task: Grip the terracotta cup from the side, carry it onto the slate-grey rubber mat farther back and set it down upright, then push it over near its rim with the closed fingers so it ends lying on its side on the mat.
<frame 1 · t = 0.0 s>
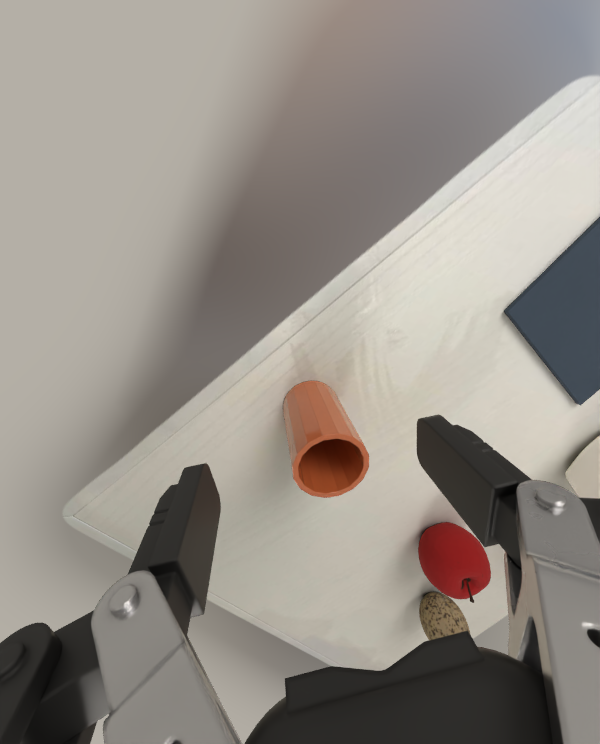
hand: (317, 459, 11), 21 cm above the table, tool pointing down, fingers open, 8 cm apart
decorative egg: (428, 593, 52), on the table
bowl: (599, 456, 44), on the table
apple: (434, 531, 46), on the table
cup: (310, 405, 34), on the table
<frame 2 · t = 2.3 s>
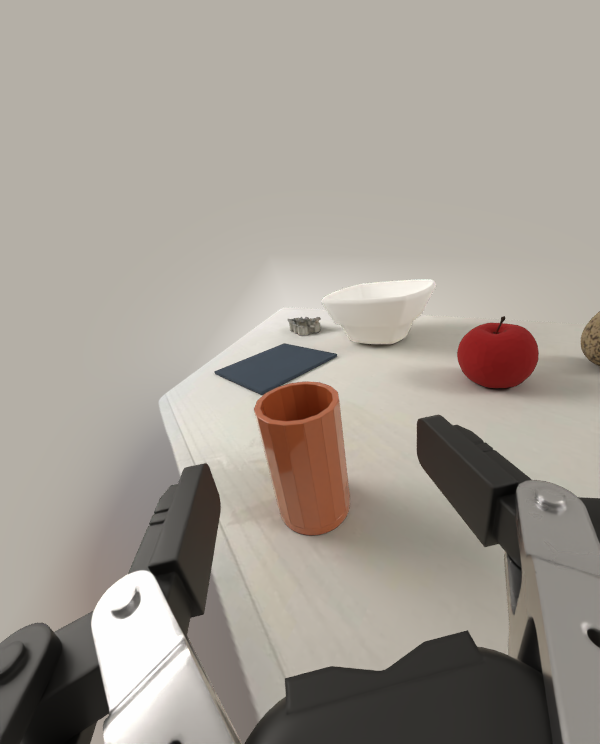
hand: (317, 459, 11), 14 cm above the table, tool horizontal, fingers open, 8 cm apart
grey jagged stone ring: (304, 331, 84), on the table
bowl: (379, 340, 66), on the table
mat: (275, 365, 61), on the table
apple: (491, 383, 41), on the table
cup: (314, 502, 26), on the table
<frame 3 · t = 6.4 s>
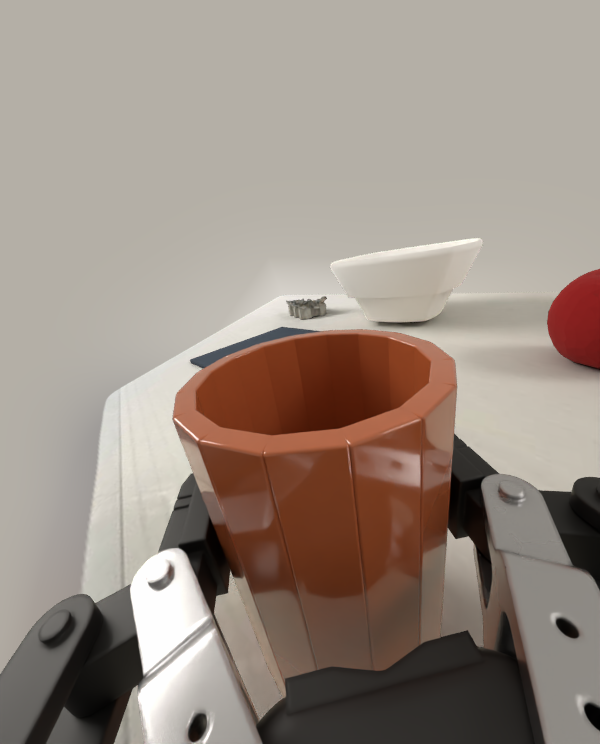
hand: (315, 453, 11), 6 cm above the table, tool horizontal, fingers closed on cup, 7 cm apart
grey jagged stone ring: (307, 315, 69), on the table
bowl: (404, 319, 51), on the table
mat: (270, 350, 46), on the table
cup: (347, 616, 11), on the table, touching gripper
when the fingers open (7 cm above the table, at t = 16.0 s): cup stays where it is, resting on mat.
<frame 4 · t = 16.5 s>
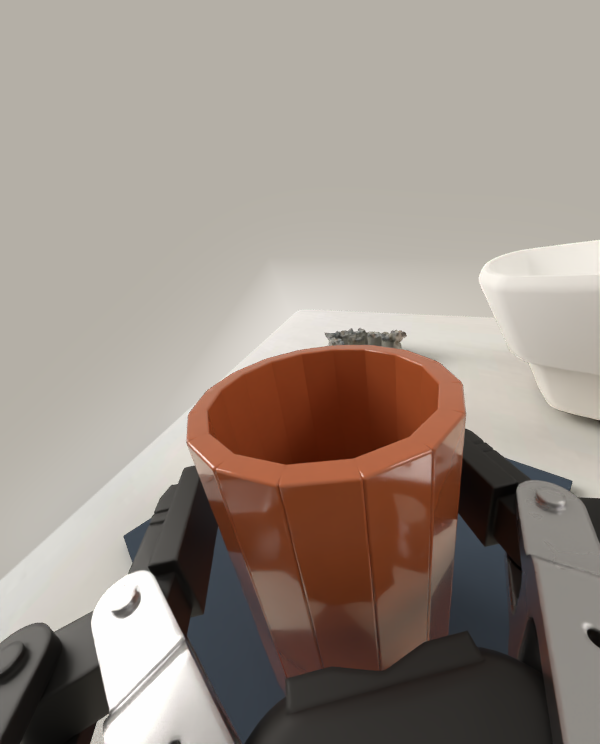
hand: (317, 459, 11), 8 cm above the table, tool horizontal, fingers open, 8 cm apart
grey jagged stone ring: (363, 359, 40), on the table
mat: (339, 516, 17), on the table
cup: (353, 626, 11), point 1 cm above the table, touching mat
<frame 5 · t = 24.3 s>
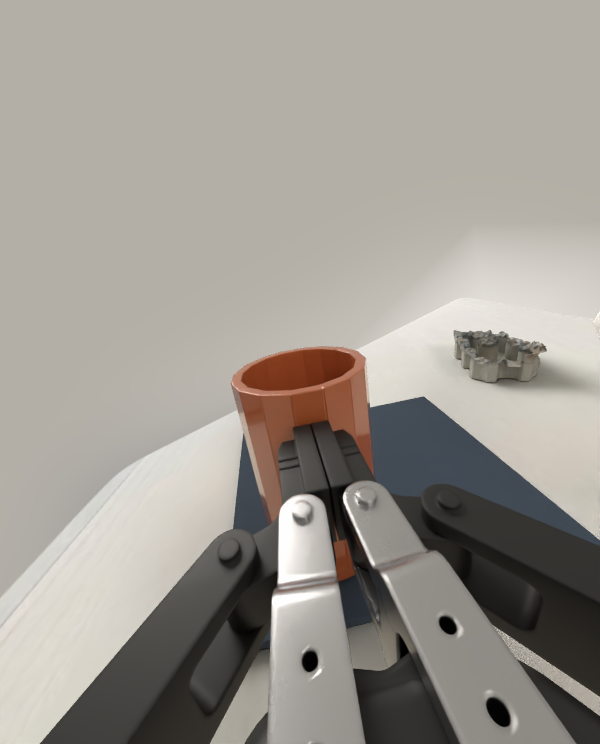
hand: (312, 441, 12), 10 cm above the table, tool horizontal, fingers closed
grey jagged stone ring: (489, 366, 36), on the table
mat: (364, 478, 22), on the table
cup: (325, 528, 18), point 1 cm above the table, touching gripper, mat
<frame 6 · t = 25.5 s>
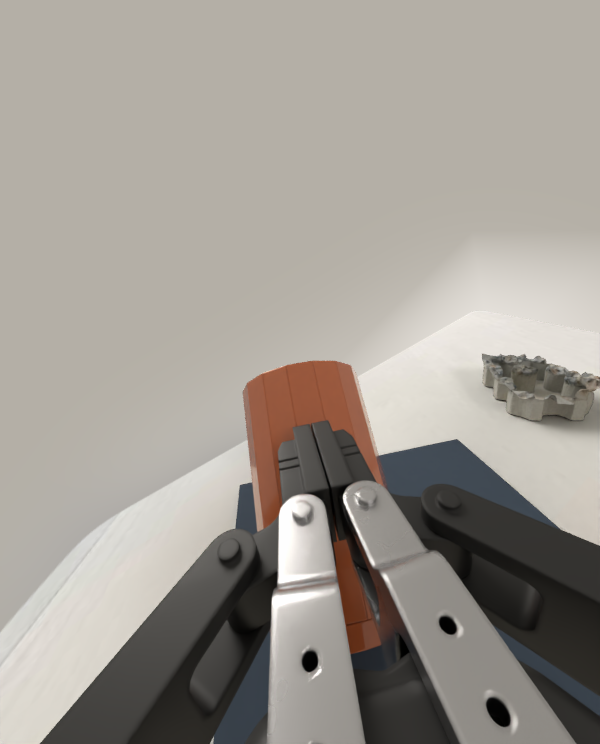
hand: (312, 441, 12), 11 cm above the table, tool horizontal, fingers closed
grey jagged stone ring: (526, 398, 31), on the table
mat: (396, 564, 17), on the table
cup: (343, 613, 13), point 3 cm above the table, tilted 43°, touching gripper, mat
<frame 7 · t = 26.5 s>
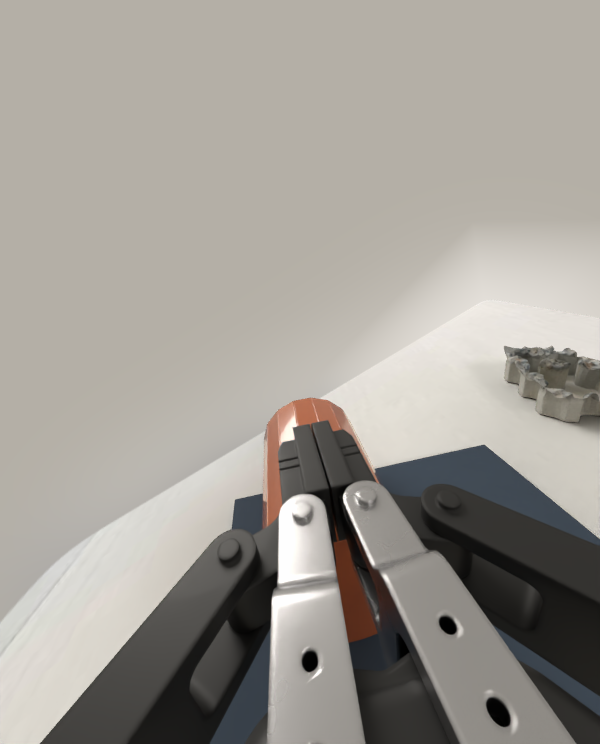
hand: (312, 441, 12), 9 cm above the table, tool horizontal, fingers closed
grey jagged stone ring: (556, 395, 28), on the table
mat: (426, 608, 14), on the table
cup: (345, 597, 11), point 4 cm above the table, tilted 90°, touching mat
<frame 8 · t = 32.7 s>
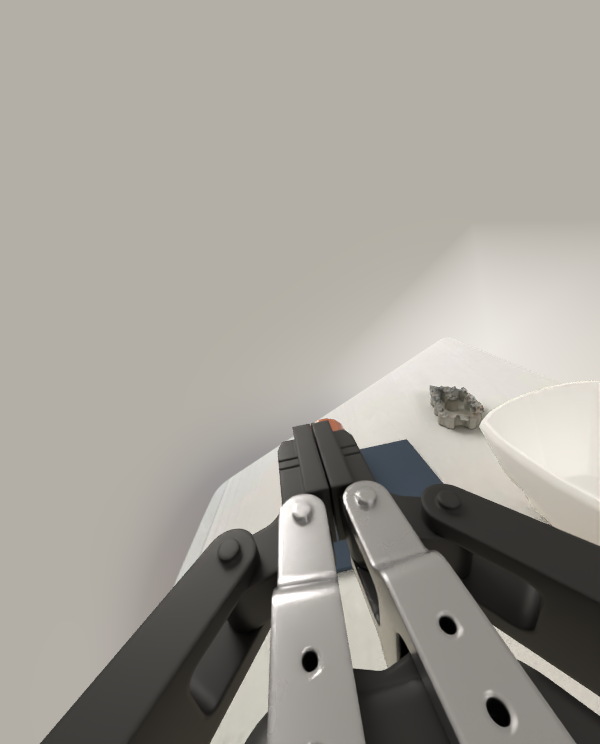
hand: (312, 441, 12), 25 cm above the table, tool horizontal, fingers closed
grey jagged stone ring: (452, 414, 54), on the table
mat: (369, 495, 39), on the table
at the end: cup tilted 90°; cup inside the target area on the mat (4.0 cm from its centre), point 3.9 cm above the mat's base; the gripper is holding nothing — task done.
